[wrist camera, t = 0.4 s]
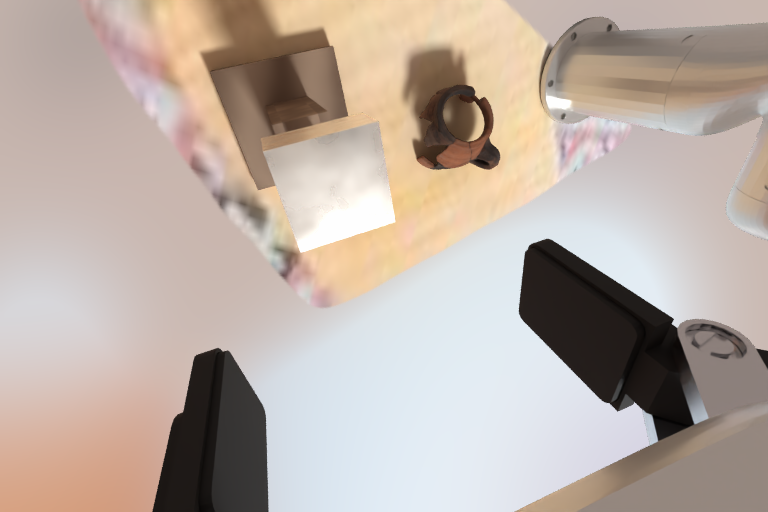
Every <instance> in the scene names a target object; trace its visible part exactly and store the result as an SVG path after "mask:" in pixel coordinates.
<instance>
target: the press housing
mask: <svg viewBox="0 0 768 512" xmlns="http://www.w3.org/2000/svg"><path fill="white" fill-rule="evenodd" d="M210 74H211V76H212V79H213V81H214V83H215V86H216V88H217V91H218V93H219V96H220V98H221V101H222V103H223V105H224V108H225V110H226V113H227V115H228V118H229V120H230V123H231V125H232V127H233V130H234V132H235V135H236V137H237V140H238V142H239V145H240V147H241V150H242V152H243V154H244V157H245V159H246V162H247V164H248V167H249V169H250V172H251V174H252V176H253V179H254V181H255V184H256V186H257V189H258V190H261V189H264V188H268V187H272V186H275V182H274V180H273V177H272V174H271V172H270V169H269V166H268V164H267V161H266V158H265V156H264V153H263V149H262V143H261V138H264V137H268V136H272V135H276V134H280V133H284V132H288V131H292V130H296V129H300V128H304V127H308V126H312V125H315V124H319V123H323V122H327V121H331V120H335V119H339V118H343V117H347V116H348V113H347V108H346V104H345V99H344V94H343V90H342V85H341V80H340V76H339V71H338V66H337V62H336V57H335V52H334V48H333V46H328V47H323V48H319V49H314V50H309V51H304V52H300V53H295V54H290V55H285V56H281V57H276V58H271V59H266V60H262V61H257V62H252V63H247V64H242V65H238V66H233V67H228V68H223V69H219V70H214V71H210Z"/></svg>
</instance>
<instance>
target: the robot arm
mask: <svg viewBox="0 0 768 512" xmlns="http://www.w3.org/2000/svg"><path fill="white" fill-rule="evenodd" d="M541 100H542V105H543V107H544V109H545V112H546V113H547V114H548V116H549V117H550V118H552V119H553V120H554V121H557V122H560V123H565V124H574V123H577V122H581V121H582V120H584V119H586V118H588V117H589V116H593V117H598V118H603V119H608V120H613V121H618V122H624V123H629V124H634V125H639V126H645V127H649V128H655V129H660V130H665V131H671V132H676V133H681V134H686V135H695V136H697V135H701V136H702V135H711V134H716V133H720V132H723V131H726V130H729V129H732V128H734V127H737V126H740V125H742V124H744V123H747V122H749V121H751V120H754V119H756V118H758V117H760V116H762V117H763V122H762V125H761V128H760V130H759V132H758V134H757V139H756V141H755V143H754V145H753V147H752V149H751V151H750V153H749V155H748V157H747V159H746V161H745V163H744V165H743V167H742V169H741V171H740V173H739V175H738V177H737V179H736V181H735V183H734V185H733V187H732V189H731V191H730V194H729V196H728V199H727V203H726V214H727V216H728V218H729V220H730V221H731V222H732V223H733V224H734V225H735V226H736V227H738V228H739V229H741V230H743V231H744V232H747V233H749V234H751V235H753V236H756V237H758V238H761V239H764V240H767V241H768V23H758V24H757V23H756V24H738V25H725V26H705V27H685V28H666V29H647V30H627V31H620V30H619V28H618V27H617V26H616V24H615V23H614V22H613V21H611V20H609V19H608V18H604V17H592V18H587V19H584V20H582V21H580V22H578V23H576V24H574V25H573V26H572V27H570V28H569V29H568V30H567V31H566V32H565V33H564V34H563V35H562V36H561V37H560V39H559V40H558V41H557V43H556V44H555V46H554V47H553V49H552V51H551V53H550V55H549V57H548V59H547V62H546V64H545V67H544V71H543V74H542V80H541ZM519 314H520V317H521V318H522V320H523V321H524V322H525V323H526V324H527V325H528V326H529V327H530V328H531V329H532V330H533V331H534V332H535V333H536V334H537V335H538V336H539V337H540V338H541V339H542V340H543V341H544V342H545V343H546V344H547V345H548V346H549V347H550V348H551V350H553V351H554V353H555V354H556V355H557V356H558V357H559V358H560V359H562V360H563V362H564V363H565V364H566V365H567V366H568V367H569V368H571V370H572V371H573V372H574V373H575V374H576V375H577V376H578V377H579V378H580V379H581V380H582V381H583V382H584V383H585V384H586V385H587V386H588V387H589V388H590V389H591V390H592V391H593V392H594V393H595V394H596V395H597V396H598V397H599V398H600V399H601V400H602V401H604V402H606V403H610V404H611V405H612V406H613V407H614V408H615V409H616V410H617V411H620V410H622V409H625V408H627V407H629V406H631V405H633V404H634V402H635V403H636V404H637V405H638V406H639V407H640V408H641V409H642V411H643V416H644V421H645V425H646V430H647V434H648V439H649V444H650V446H648V447H646V448H644V449H642V450H640V451H637V452H635V453H633V454H631V455H629V456H627V457H625V458H623V459H621V460H619V461H617V462H615V463H613V464H611V465H609V466H607V467H605V468H603V469H601V470H599V471H596V472H594V473H592V474H590V475H588V476H586V477H584V478H582V479H580V480H578V481H576V482H574V483H572V484H570V485H568V486H566V487H564V488H562V489H560V490H558V491H556V492H553V493H552V494H549V495H548V496H545V497H543V498H542V499H540V500H537V501H535V502H533V503H531V504H529V505H527V506H525V507H523V508H521V509H519V510H517V511H515V512H768V351H766V350H761V349H756V348H755V346H754V345H753V344H752V343H751V342H750V340H749V339H748V338H746V337H745V336H744V335H742V334H741V333H740V332H738V331H736V330H734V329H732V328H731V327H729V326H726V325H723V324H721V323H718V322H714V321H709V320H704V319H692V320H686V321H685V322H683V323H681V324H680V325H679V327H678V328H676V327H675V326H674V325H672V322H673V320H674V319H673V318H672V317H670V316H669V315H667V314H666V313H664V312H662V311H661V310H659V309H658V308H656V307H655V306H653V305H652V304H650V303H648V302H647V301H645V300H644V299H642V298H641V297H639V296H637V295H636V294H634V293H633V292H631V291H630V290H628V289H627V288H625V287H624V286H622V285H621V284H619V283H617V282H616V281H614V280H613V279H611V278H610V277H608V276H607V275H605V274H603V273H602V272H600V271H599V270H597V269H596V268H594V267H593V266H591V265H589V264H588V263H587V262H585V261H583V260H582V259H580V258H579V257H577V256H576V255H574V254H573V253H571V252H570V251H568V250H567V249H565V248H563V247H562V246H560V245H559V244H557V243H556V242H554V241H553V240H550V239H545V240H542V241H539V242H536V243H533V244H531V245H530V246H529V247H528V250H527V251H526V252H525V258H524V267H523V276H522V286H521V294H520V304H519ZM267 479H268V478H267V442H266V415H265V410H264V408H263V405H262V403H261V402H260V400H259V399H258V397H257V395H256V394H255V392H254V390H253V389H252V387H251V386H250V384H249V382H248V381H247V379H246V377H245V376H244V374H243V373H242V371H241V369H240V368H239V366H238V365H237V363H236V361H235V360H234V358H233V356H232V355H231V353H230V352H229V351H224V352H223V351H222V350H221V349H219V348H216V349H213V350H211V351H207V352H204V353H201V354H198V355H196V356H195V358H194V361H193V366H192V371H191V376H190V381H189V386H188V391H187V396H186V402H185V406H184V411H183V413H180V414H178V415H177V416H176V417H175V418H174V420H173V423H172V426H171V431H170V435H169V440H168V445H167V449H166V453H165V458H164V462H163V467H162V471H161V476H160V480H159V485H158V489H157V494H156V498H155V503H154V507H153V512H268V480H267Z"/></svg>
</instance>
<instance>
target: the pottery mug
mask: <svg viewBox="0 0 768 512" xmlns="http://www.w3.org/2000/svg"><path fill="white" fill-rule="evenodd" d="M457 94H460V99H461V100H463V101H464V102H467V103H472V102H473V101H475V102H476V104H477V105H478V106H479V108H480V109H481V111H482V114H483V117H484V122H485V125H484V131H483V133H482V135H481V136H480V137H479V138H478V139H477V140H474V141H470V142H467V141H462V140H459V139H457V138H455V137H454V136H453V135H452V134H451V133H450V132H449V131H448V129H447V127H446V125H445V123H444V120H443V108H444V104H445V102H446V100H447V99H448V98H450V97H451V96H453V95H457ZM419 118H424V119H427V120H429V121H432V124H431V125H430V126H429V127H428V129H427V133H426V136H425V138H424V141H425V144H426V146H427V147H430V146H432V145H447V147H446V148H445V149H444V150H443V151H442V152H441V153H439V154H438V155H437V158H436V160H437V161H438V162H439V163H438V164H434V163H432V162H431V161H429V160H428V159H427V158H426V157H424V156H421V157H419V158H417V161H418V162H419V163H420V164H422V165H423V166H425V167H427V168H430V169H438V170H439V169H451V168H456V167H461V166H463V165H466V164H468V163H472V164H474V165H476V166H478V167H480V168H483V169H488V170H490V169H492V168H494V167H495V166H497V165H498V163H499V160H500V153H499V151H498V149H497V148H496V147H495V146H493V145H492V144H491V142H490V139H489V136H490V134H491V132H492V129H493V113H492V109H491V106H490V104H489V102H488V100H487V99H486V98H485V97H483V98H481V99H480V100H479V99H478V98H477V97H476V96H475V90H474V88H473V87H471V86H468V85H456V86H453V87H450V88H445V89H442V90H440V91H438V92H437V93H436V95H434V96H433V97H432V98H431V100H430V102H429V104H428V106H427V107H426V109H425V110H424V111H423V112H422V114H421V115H420V117H419Z"/></svg>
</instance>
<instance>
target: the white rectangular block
mask: <svg viewBox="0 0 768 512" xmlns="http://www.w3.org/2000/svg"><path fill="white" fill-rule="evenodd" d="M261 143H262V149H263V153H264V156H265V158H266V161H267V164H268V166H269V169H270V172H271V174H272V177H273V180H274V182H275V185H276V188H277V191H278V193H279V196H280V199H281V201H282V204H283V207H284V209H285V212H286V215H287V217H288V220H289V223H290V225H291V228H292V231H293V233H294V236H295V239H296V241H297V244H298V247H299V249H300V252H304V251H307V250H310V249H313V248H316V247H319V246H322V245H326V244H329V243H332V242H335V241H338V240H341V239H344V238H347V237H350V236H353V235H356V234H359V233H363V232H366V231H369V230H372V229H375V228H378V227H381V226H384V225H387V224H390V223H393V222H395V217H394V211H393V205H392V199H391V193H390V187H389V181H388V175H387V169H386V163H385V157H384V151H383V145H382V139H381V133H380V127H379V121H377V120H375V119H373V118H371V117H370V116H368V115H366V114H364V113H359V114H355V115H351V116H347V117H343V118H339V119H335V120H331V121H327V122H323V123H319V124H315V125H312V126H308V127H304V128H300V129H296V130H292V131H288V132H284V133H280V134H276V135H272V136H268V137H264V138H261Z"/></svg>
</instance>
